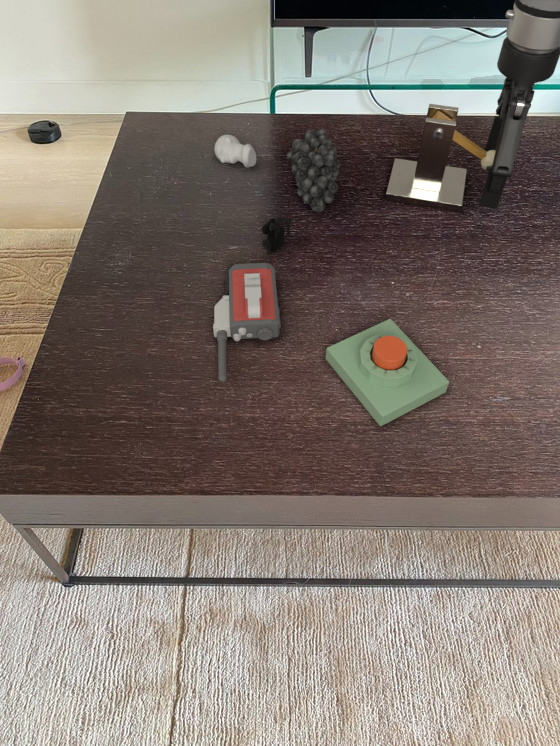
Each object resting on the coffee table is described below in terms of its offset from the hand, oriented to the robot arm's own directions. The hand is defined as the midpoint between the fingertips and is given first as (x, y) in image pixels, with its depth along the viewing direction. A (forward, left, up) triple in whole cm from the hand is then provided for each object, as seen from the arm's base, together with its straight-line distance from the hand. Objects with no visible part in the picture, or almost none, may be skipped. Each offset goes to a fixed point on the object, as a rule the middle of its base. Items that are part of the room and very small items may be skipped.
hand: (490, 180), depth 98 cm
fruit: (+15, +24, -3) cm, 28 cm away
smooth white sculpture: (+29, +31, -3) cm, 42 cm away
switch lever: (+4, +4, +4) cm, 7 cm away
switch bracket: (+7, +7, -3) cm, 10 cm away
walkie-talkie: (-5, +47, -3) cm, 47 cm away
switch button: (-21, +36, 0) cm, 42 cm away
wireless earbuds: (+7, +36, -3) cm, 36 cm away
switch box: (-21, +36, -3) cm, 42 cm away
